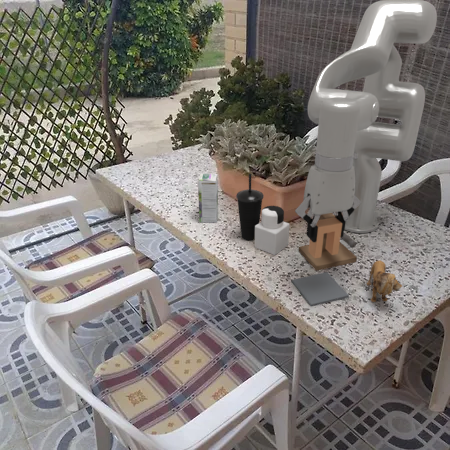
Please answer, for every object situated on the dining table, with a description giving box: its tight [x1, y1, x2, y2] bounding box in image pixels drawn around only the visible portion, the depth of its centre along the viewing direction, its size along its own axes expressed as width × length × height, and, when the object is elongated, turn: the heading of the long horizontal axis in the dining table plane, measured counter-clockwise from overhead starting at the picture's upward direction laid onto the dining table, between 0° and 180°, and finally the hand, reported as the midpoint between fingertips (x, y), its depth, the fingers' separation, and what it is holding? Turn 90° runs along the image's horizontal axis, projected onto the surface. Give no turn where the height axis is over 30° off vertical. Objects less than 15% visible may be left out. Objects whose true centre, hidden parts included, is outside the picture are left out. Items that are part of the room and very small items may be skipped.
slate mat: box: [291, 271, 350, 307], centre depth 102 cm, size 10×10×1 cm
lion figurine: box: [366, 259, 403, 303], centre depth 99 cm, size 15×5×9 cm, turn 178°
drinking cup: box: [235, 173, 264, 242], centre depth 120 cm, size 8×8×20 cm
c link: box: [308, 217, 342, 258], centre depth 95 cm, size 6×3×8 cm, turn 108°
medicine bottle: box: [254, 205, 291, 256], centre depth 117 cm, size 7×7×12 cm
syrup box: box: [197, 172, 219, 224], centre depth 131 cm, size 6×6×14 cm
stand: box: [298, 213, 358, 272], centre depth 110 cm, size 12×16×12 cm
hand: (325, 236), depth 95 cm, fingers closed on c link, 6 cm apart
